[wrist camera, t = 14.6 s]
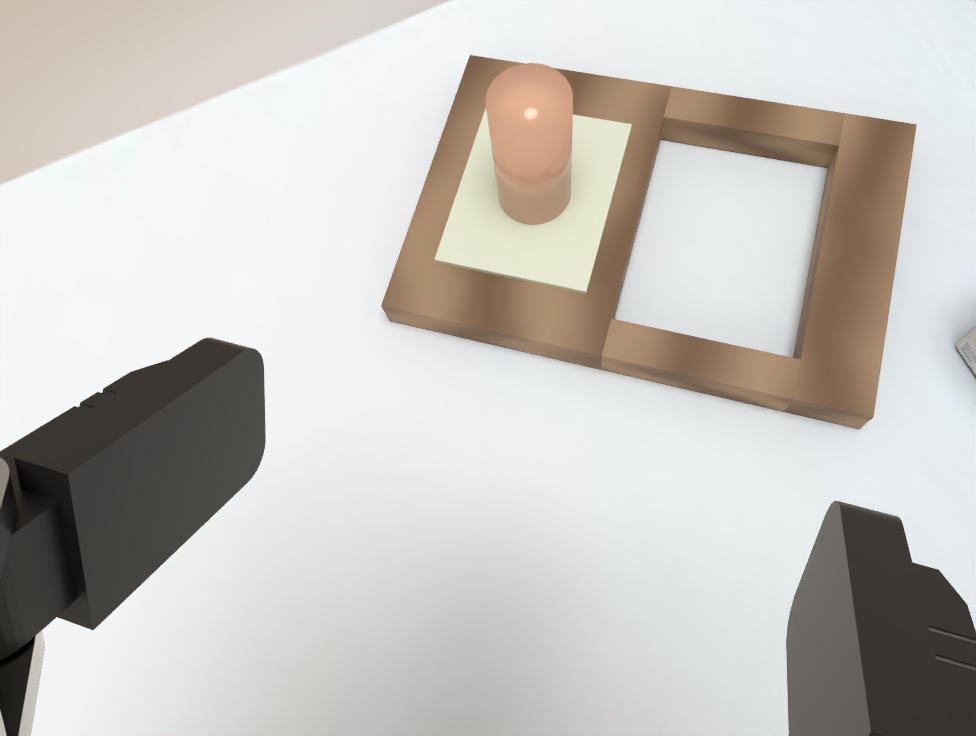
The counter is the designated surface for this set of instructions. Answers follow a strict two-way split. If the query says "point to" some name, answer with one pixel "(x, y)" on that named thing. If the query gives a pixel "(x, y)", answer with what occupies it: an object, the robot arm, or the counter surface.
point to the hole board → (611, 233)
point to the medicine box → (968, 348)
